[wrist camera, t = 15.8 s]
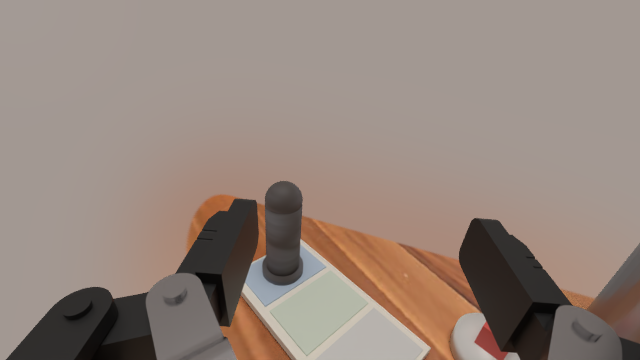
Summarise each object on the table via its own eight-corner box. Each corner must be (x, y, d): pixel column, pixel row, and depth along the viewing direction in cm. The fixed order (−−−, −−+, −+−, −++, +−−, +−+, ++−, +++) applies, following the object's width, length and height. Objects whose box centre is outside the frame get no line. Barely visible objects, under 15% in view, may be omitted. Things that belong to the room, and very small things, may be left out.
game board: (299, 242, 43) (299, 236, 43) (428, 353, 30) (431, 346, 30) (229, 280, 37) (228, 273, 36) (357, 443, 24) (359, 436, 23)
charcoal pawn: (286, 249, 40) (288, 168, 34) (311, 272, 37) (317, 186, 31) (254, 267, 37) (250, 180, 31) (278, 292, 34) (278, 202, 28)
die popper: (467, 312, 35) (481, 284, 33) (533, 359, 31) (555, 330, 28) (437, 351, 31) (451, 321, 28) (509, 411, 26) (533, 382, 24)
